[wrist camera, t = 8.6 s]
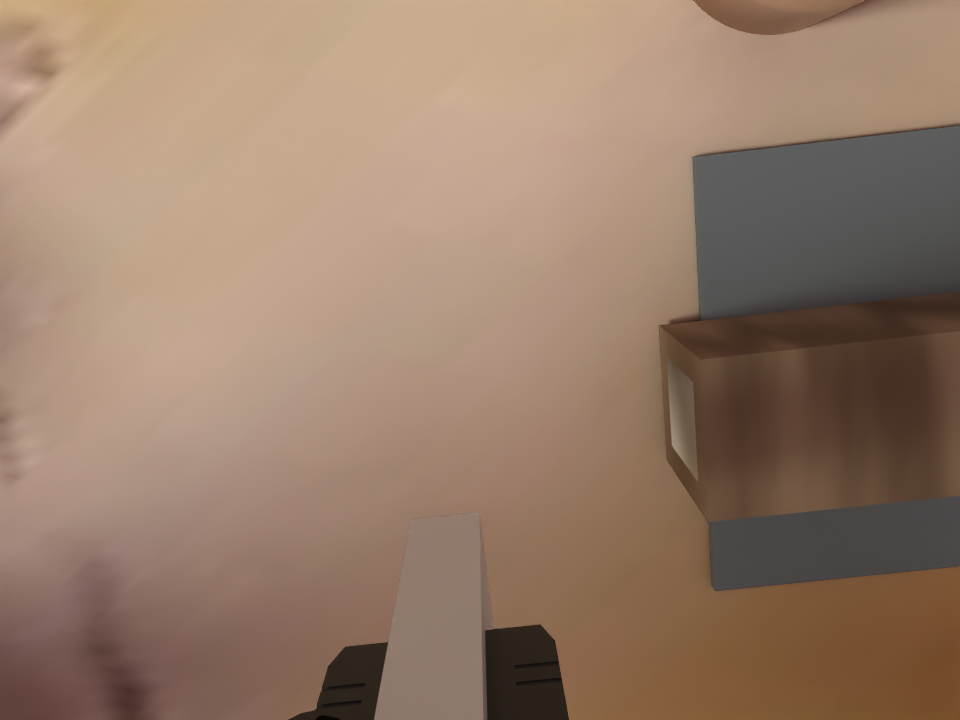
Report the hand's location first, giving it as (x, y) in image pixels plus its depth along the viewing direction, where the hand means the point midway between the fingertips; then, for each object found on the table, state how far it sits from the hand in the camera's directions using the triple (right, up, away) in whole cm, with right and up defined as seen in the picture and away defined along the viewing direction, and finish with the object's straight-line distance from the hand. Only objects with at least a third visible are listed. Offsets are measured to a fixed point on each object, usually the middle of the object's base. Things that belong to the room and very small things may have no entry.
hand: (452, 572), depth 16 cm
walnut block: (+7, +3, +8) cm, 11 cm away
